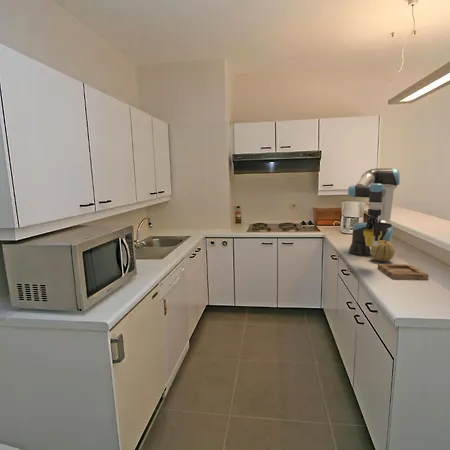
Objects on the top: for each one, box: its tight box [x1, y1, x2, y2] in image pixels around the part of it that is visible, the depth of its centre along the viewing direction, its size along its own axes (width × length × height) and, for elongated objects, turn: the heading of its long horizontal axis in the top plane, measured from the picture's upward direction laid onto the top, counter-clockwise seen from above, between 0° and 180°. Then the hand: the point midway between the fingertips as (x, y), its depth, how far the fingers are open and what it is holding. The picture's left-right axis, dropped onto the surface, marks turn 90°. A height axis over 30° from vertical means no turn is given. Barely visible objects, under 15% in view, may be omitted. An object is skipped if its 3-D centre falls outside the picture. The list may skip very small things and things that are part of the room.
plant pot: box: [363, 229, 382, 248], centre depth 201 cm, size 10×10×10 cm
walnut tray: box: [377, 263, 430, 281], centre depth 193 cm, size 20×20×3 cm
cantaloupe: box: [370, 240, 395, 263], centre depth 219 cm, size 15×15×15 cm
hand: (371, 243), depth 202 cm, fingers closed on plant pot, 10 cm apart
